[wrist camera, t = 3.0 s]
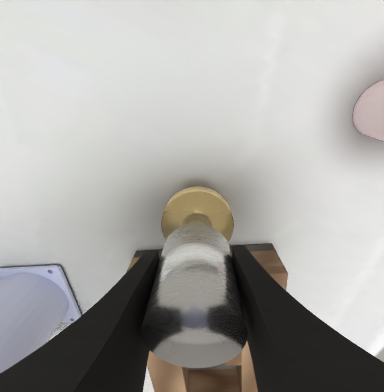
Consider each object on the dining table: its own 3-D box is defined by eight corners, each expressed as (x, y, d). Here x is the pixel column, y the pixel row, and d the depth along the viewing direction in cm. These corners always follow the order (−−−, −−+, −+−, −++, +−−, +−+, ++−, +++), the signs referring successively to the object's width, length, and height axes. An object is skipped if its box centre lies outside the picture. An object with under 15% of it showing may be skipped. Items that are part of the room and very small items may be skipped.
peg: (168, 247, 16) (138, 378, 8) (159, 188, 14) (109, 285, 6) (231, 243, 15) (263, 377, 8) (230, 183, 14) (269, 279, 6)
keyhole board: (167, 381, 28) (162, 419, 25) (136, 250, 20) (122, 280, 17) (262, 380, 27) (272, 419, 24) (271, 243, 19) (287, 273, 16)
